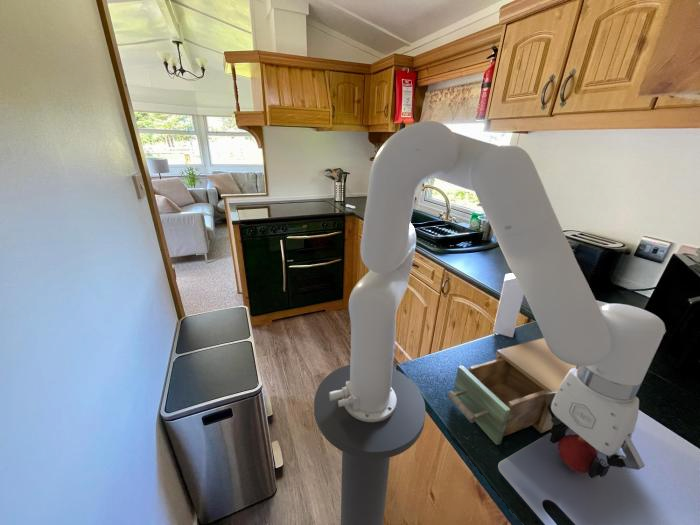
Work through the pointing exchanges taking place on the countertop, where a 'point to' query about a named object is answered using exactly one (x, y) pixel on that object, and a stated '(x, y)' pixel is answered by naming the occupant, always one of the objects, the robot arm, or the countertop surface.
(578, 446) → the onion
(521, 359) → the cabinet
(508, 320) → the milk
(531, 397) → the drawer
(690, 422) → the countertop surface
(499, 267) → the countertop surface
